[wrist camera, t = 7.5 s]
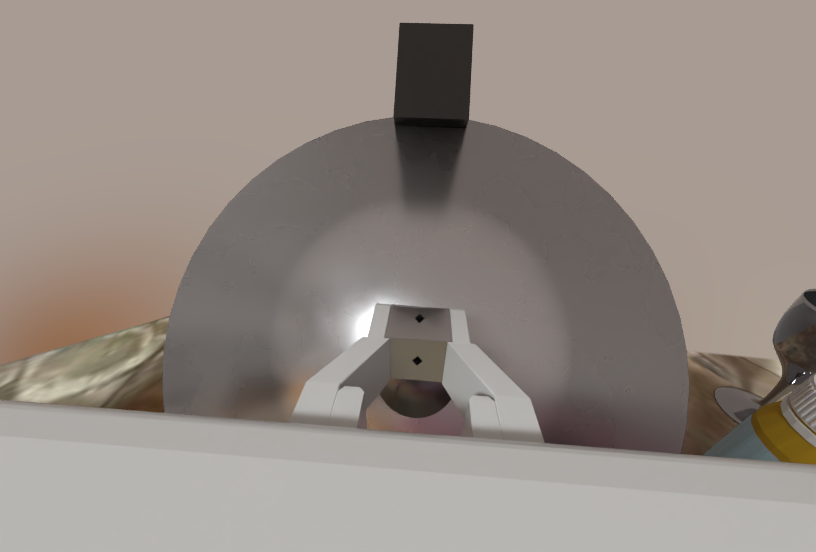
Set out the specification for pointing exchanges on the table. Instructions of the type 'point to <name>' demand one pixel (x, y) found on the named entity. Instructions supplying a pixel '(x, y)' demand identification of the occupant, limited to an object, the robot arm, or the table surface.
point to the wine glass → (781, 359)
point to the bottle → (776, 430)
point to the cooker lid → (432, 273)
